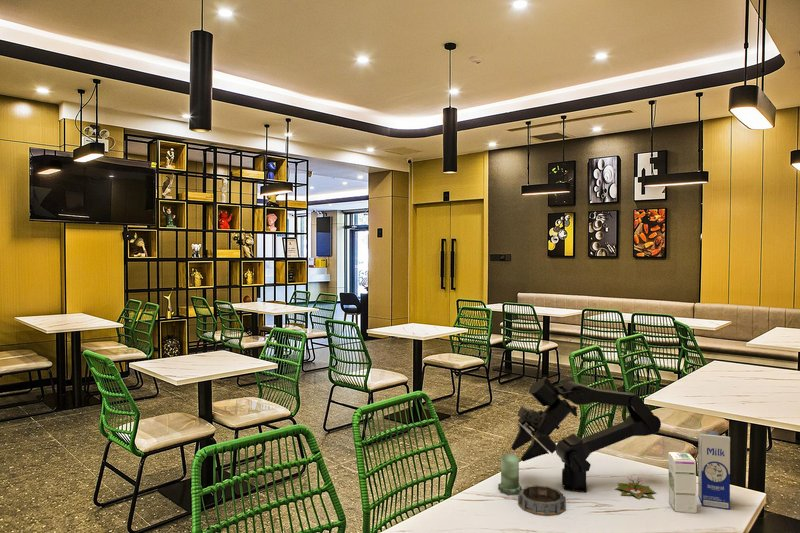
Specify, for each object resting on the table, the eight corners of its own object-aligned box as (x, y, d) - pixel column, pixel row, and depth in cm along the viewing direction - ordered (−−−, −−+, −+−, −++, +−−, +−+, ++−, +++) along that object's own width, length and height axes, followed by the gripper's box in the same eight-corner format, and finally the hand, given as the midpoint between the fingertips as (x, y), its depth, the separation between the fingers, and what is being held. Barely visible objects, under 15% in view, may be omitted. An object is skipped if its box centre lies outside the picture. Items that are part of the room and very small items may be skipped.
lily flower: (654, 486, 163) (654, 471, 163) (661, 504, 152) (661, 487, 152) (611, 482, 167) (611, 467, 167) (616, 499, 155) (615, 483, 155)
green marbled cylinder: (522, 487, 163) (522, 454, 163) (520, 496, 156) (520, 462, 156) (499, 484, 165) (499, 451, 165) (497, 493, 158) (496, 459, 158)
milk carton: (701, 505, 150) (701, 433, 149) (697, 495, 156) (697, 426, 156) (730, 509, 147) (730, 436, 147) (725, 499, 153) (725, 429, 153)
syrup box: (697, 513, 145) (697, 460, 145) (673, 511, 146) (673, 458, 146) (690, 504, 151) (690, 452, 150) (667, 502, 152) (667, 451, 152)
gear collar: (565, 497, 155) (565, 487, 155) (565, 518, 143) (565, 507, 143) (520, 492, 159) (520, 482, 159) (516, 512, 147) (516, 501, 147)
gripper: (524, 390, 170) (489, 426, 169) (545, 406, 152) (507, 447, 151) (548, 414, 171) (514, 450, 170) (572, 433, 152) (534, 473, 152)
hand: (517, 454), depth 161 cm, fingers open, 9 cm apart
